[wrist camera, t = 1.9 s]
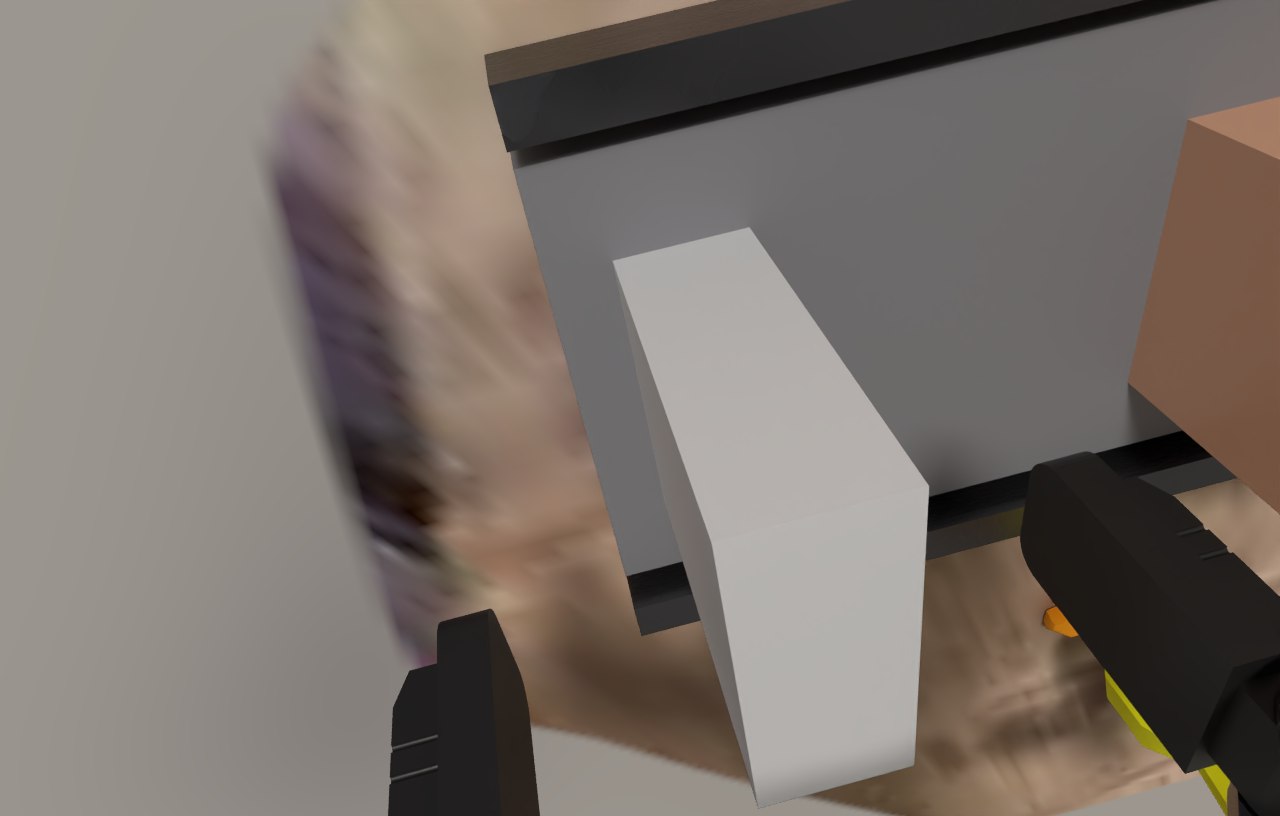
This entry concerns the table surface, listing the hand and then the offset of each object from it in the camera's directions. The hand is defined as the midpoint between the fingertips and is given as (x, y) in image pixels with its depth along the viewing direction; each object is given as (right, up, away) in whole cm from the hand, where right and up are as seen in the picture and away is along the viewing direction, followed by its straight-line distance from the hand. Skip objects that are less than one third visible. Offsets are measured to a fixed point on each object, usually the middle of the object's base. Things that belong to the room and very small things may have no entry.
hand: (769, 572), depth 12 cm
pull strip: (+7, +6, +6) cm, 11 cm away
